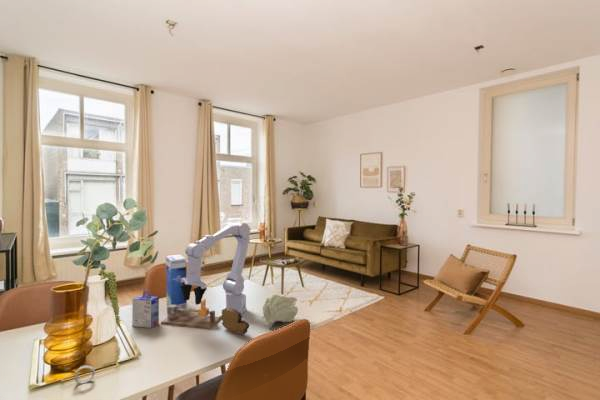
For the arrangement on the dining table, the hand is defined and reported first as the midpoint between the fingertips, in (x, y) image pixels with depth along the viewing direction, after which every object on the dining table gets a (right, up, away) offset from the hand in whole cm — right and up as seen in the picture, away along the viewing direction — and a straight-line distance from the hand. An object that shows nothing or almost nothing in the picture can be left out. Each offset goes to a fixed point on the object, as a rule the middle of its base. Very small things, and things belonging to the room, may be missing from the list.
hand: (192, 302), depth 133 cm
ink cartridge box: (-21, -11, +2) cm, 24 cm away
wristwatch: (-20, -13, -38) cm, 45 cm away
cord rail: (-2, -11, +5) cm, 12 cm away
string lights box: (-16, -10, +22) cm, 30 cm away
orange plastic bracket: (+3, -7, +4) cm, 9 cm away
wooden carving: (+19, -12, -4) cm, 23 cm away
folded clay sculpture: (+37, -11, +6) cm, 40 cm away
